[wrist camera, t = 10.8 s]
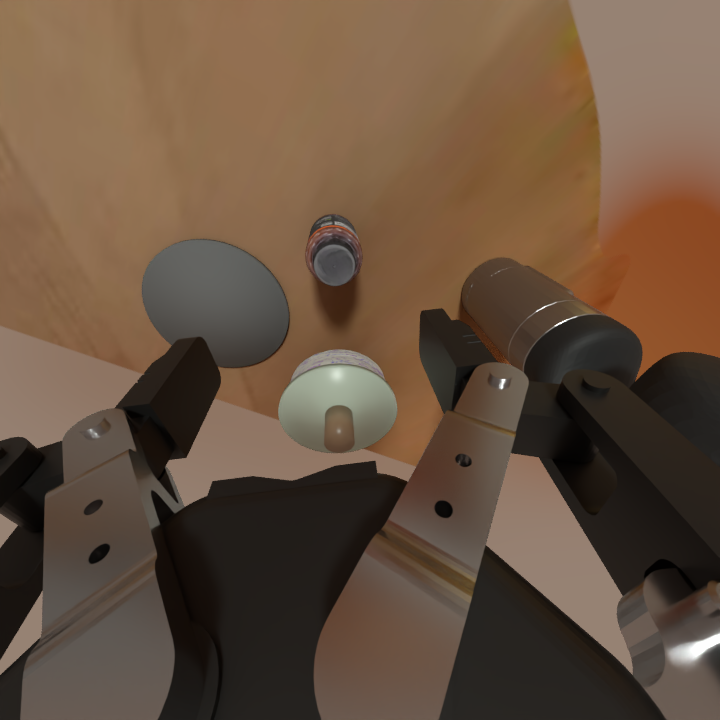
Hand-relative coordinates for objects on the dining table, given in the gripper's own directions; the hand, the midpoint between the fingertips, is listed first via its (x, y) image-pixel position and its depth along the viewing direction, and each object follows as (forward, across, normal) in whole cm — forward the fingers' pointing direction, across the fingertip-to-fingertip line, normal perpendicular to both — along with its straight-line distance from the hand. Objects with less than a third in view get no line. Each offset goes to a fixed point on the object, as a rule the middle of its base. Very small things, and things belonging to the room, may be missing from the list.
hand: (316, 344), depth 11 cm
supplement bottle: (+30, 0, +3) cm, 30 cm away
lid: (+22, +2, +25) cm, 33 cm away
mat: (+30, +17, +11) cm, 36 cm away
